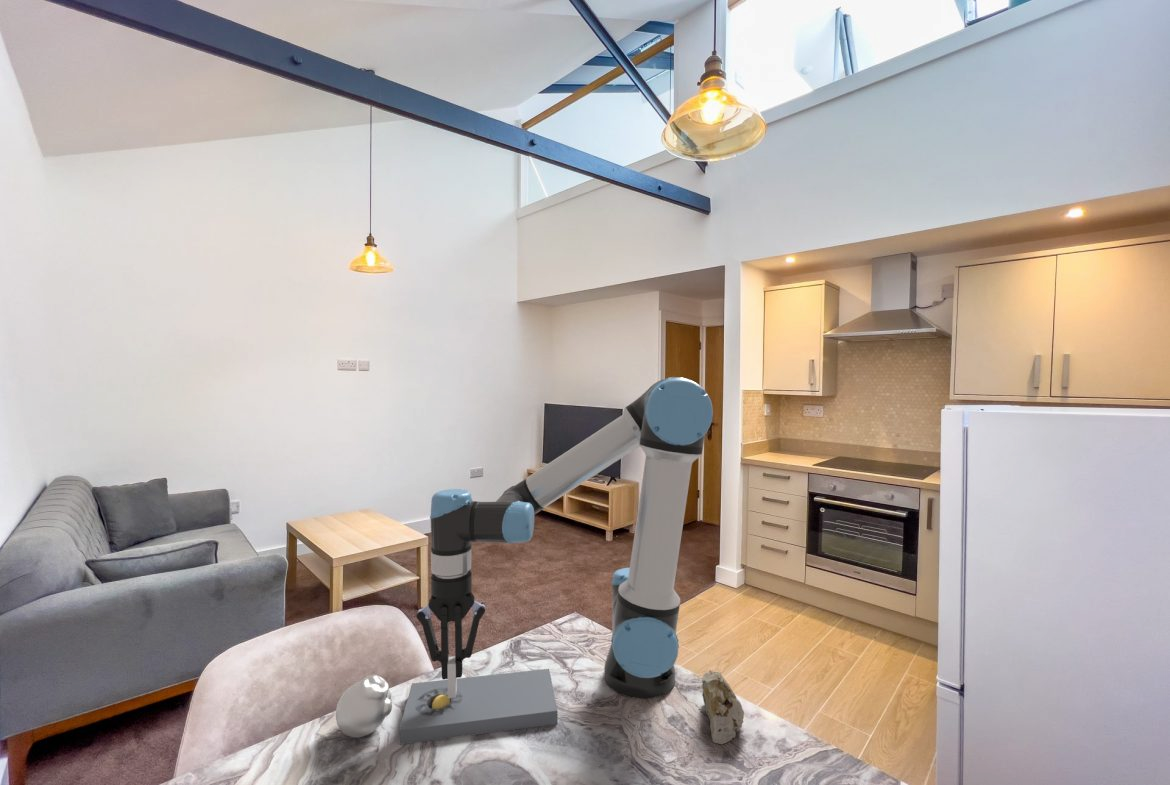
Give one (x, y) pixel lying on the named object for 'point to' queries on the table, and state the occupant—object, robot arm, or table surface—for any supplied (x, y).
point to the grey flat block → (479, 706)
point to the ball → (440, 702)
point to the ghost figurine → (364, 706)
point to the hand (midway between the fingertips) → (452, 693)
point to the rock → (721, 707)
